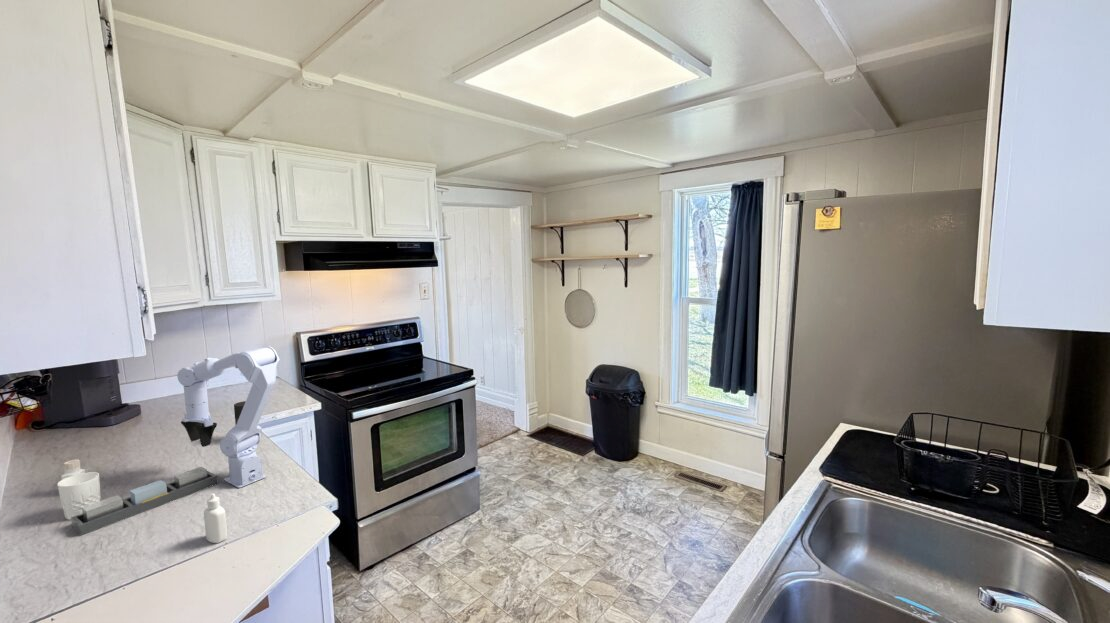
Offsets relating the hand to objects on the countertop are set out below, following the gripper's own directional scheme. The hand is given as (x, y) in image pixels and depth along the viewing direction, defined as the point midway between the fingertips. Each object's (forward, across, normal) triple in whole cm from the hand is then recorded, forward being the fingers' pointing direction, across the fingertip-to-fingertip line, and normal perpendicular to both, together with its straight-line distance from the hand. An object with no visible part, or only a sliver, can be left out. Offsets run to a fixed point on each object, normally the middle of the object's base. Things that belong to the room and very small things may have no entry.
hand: (200, 442), depth 145 cm
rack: (+10, +8, -16) cm, 21 cm away
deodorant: (+11, -15, +20) cm, 27 cm away
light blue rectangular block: (+10, +8, -16) cm, 21 cm away
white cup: (+11, -2, -28) cm, 30 cm away
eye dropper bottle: (+11, +42, -14) cm, 46 cm away
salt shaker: (+11, -19, -25) cm, 33 cm away
